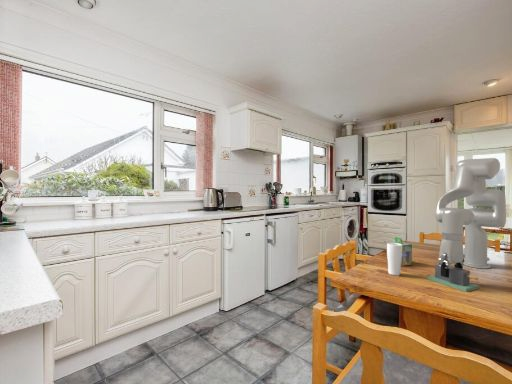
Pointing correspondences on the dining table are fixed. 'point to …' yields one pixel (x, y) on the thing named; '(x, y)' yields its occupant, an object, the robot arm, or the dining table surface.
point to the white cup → (394, 258)
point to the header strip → (463, 288)
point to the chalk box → (405, 252)
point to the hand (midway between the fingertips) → (451, 275)
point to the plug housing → (455, 275)
